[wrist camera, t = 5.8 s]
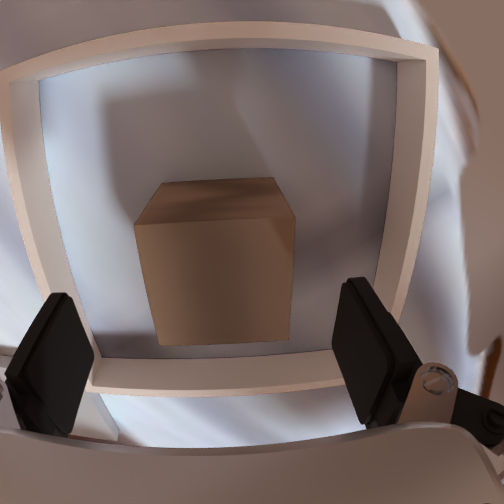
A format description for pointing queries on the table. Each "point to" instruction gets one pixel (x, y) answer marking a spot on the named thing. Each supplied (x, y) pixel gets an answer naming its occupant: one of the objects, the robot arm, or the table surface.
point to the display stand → (85, 413)
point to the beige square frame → (205, 38)
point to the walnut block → (218, 261)
